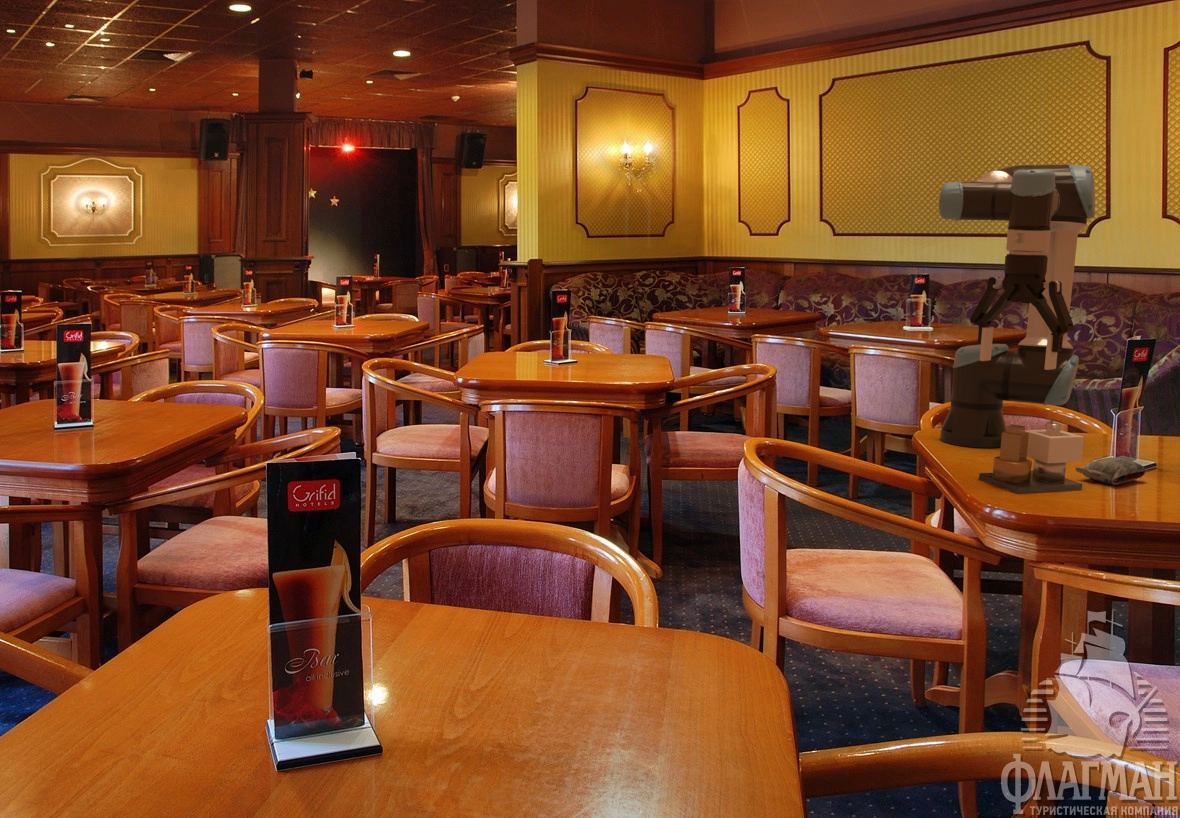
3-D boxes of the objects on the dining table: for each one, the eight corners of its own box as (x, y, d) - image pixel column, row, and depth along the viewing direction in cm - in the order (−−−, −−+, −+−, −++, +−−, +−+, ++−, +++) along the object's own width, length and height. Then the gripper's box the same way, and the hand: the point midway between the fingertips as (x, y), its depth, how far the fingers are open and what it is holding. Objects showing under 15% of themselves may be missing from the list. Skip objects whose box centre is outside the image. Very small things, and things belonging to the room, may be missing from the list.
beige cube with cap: (1020, 454, 219) (1022, 430, 218) (1053, 452, 222) (1055, 428, 221) (1047, 463, 212) (1050, 438, 211) (1081, 461, 214) (1084, 436, 213)
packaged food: (1074, 480, 221) (1076, 457, 220) (1106, 474, 228) (1108, 451, 227) (1115, 490, 214) (1118, 466, 213) (1147, 483, 221) (1149, 459, 220)
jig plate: (1040, 475, 224) (1041, 469, 224) (1082, 489, 213) (1082, 483, 213) (978, 479, 220) (979, 473, 220) (1017, 493, 209) (1018, 487, 208)
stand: (1036, 472, 221) (1041, 419, 219) (1067, 476, 218) (1072, 423, 216) (1029, 478, 216) (1035, 424, 215) (1062, 482, 213) (1067, 427, 211)
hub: (986, 479, 215) (991, 425, 213) (1001, 473, 220) (1005, 421, 218) (1021, 485, 210) (1026, 431, 208) (1035, 479, 215) (1040, 426, 213)
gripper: (957, 250, 212) (948, 358, 216) (1080, 256, 192) (1068, 374, 196) (979, 250, 216) (970, 355, 220) (1101, 256, 197) (1089, 371, 201)
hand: (1016, 364), depth 208 cm, fingers open, 13 cm apart
